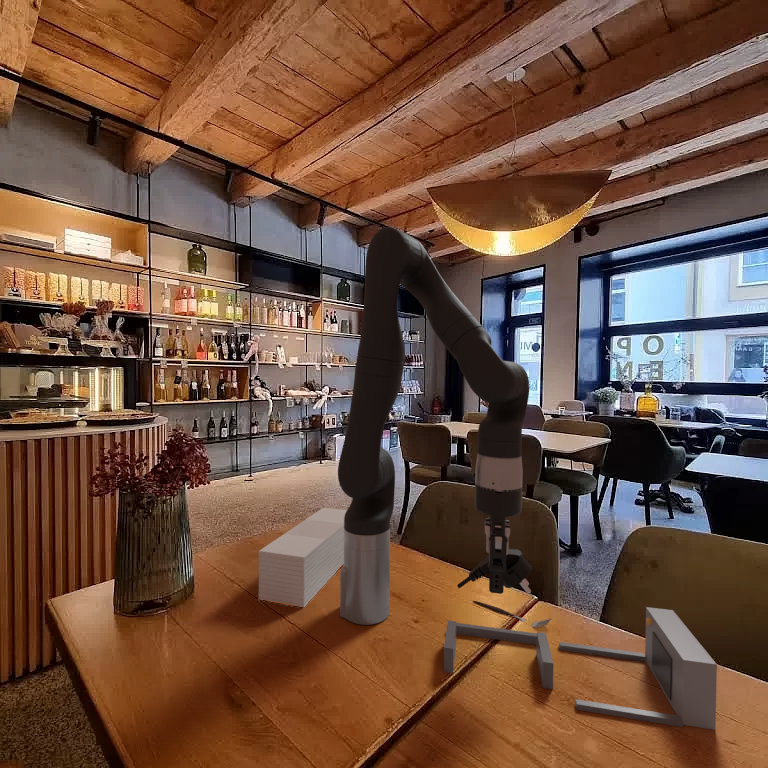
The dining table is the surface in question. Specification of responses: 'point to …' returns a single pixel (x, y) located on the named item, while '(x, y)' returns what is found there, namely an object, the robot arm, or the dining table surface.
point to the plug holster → (501, 634)
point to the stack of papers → (302, 559)
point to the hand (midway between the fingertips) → (495, 583)
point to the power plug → (514, 574)
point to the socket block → (666, 673)
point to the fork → (536, 624)
